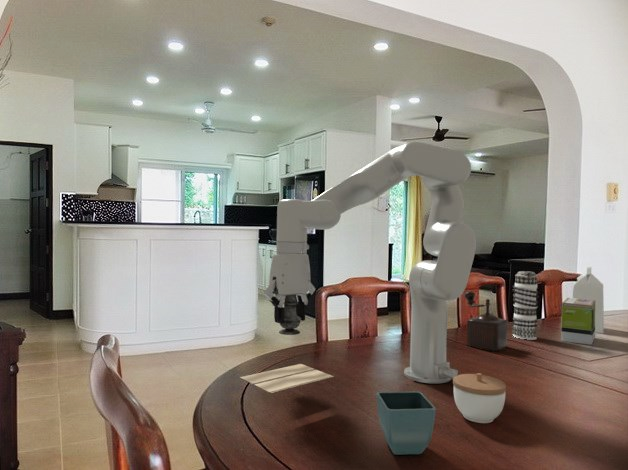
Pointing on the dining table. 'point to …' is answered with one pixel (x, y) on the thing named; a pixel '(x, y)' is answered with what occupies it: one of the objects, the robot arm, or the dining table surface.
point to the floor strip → (276, 373)
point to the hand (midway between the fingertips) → (289, 320)
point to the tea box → (578, 321)
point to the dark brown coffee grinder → (485, 328)
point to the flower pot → (406, 421)
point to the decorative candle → (525, 305)
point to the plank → (293, 381)
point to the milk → (591, 296)
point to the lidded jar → (479, 396)
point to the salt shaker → (290, 316)
